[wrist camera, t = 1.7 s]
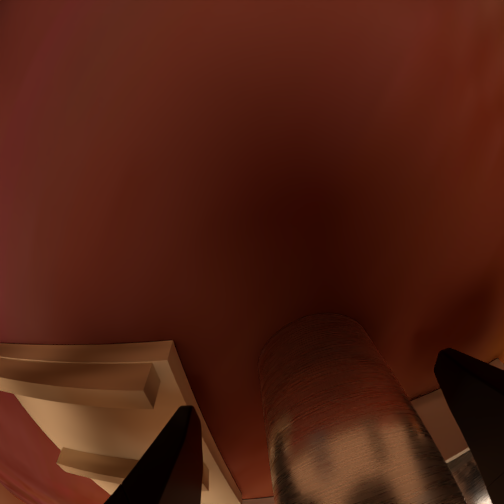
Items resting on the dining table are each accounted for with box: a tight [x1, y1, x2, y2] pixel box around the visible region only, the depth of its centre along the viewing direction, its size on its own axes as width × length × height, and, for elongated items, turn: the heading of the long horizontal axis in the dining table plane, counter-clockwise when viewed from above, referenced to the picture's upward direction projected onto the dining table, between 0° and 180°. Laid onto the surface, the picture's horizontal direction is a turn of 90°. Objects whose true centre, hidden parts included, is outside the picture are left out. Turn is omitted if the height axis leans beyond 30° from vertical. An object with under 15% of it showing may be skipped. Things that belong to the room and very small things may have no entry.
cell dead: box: [446, 450, 492, 504], centre depth 8 cm, size 4×4×8 cm
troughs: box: [0, 340, 242, 504], centre depth 10 cm, size 9×14×2 cm, turn 8°
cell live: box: [258, 313, 467, 504], centre depth 6 cm, size 4×4×8 cm
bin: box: [411, 358, 504, 463], centre depth 10 cm, size 7×7×4 cm
